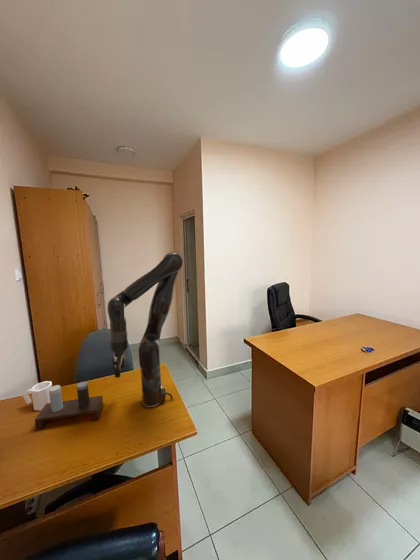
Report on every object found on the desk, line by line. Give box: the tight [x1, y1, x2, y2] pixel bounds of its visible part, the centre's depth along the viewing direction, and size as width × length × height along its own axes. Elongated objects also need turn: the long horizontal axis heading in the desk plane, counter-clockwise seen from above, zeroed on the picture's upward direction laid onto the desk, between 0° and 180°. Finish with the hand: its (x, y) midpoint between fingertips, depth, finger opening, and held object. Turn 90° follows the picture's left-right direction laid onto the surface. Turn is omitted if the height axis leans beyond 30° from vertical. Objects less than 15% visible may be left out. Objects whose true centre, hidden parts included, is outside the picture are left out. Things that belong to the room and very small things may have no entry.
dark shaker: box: [76, 381, 90, 408], centre depth 102 cm, size 4×4×10 cm
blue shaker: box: [49, 384, 64, 412], centre depth 100 cm, size 4×4×10 cm
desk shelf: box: [34, 395, 104, 431], centre depth 102 cm, size 24×10×5 cm, turn 102°
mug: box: [22, 380, 53, 412], centre depth 109 cm, size 12×9×10 cm
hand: (120, 372), depth 106 cm, fingers open, 8 cm apart
